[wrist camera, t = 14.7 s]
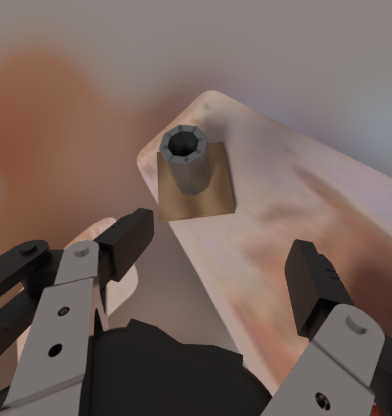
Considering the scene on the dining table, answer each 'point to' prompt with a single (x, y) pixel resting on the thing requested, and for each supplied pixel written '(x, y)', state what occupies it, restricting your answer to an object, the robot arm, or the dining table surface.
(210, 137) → the dining table surface
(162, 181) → the stand
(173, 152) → the sleeve
